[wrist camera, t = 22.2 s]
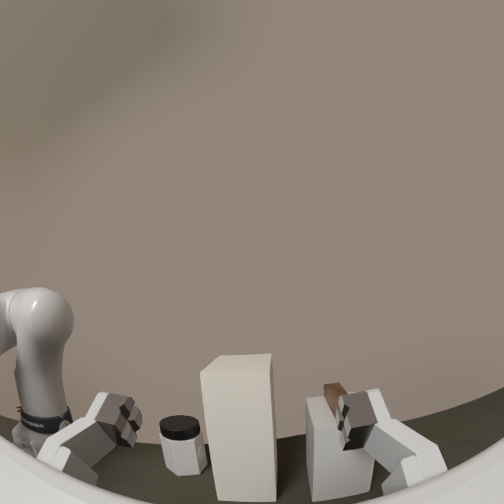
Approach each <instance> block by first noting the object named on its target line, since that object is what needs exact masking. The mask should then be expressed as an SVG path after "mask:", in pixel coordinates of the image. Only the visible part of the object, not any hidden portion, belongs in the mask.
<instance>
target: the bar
mask: <svg viewBox="0 0 504 504" xmlns="http://www.w3.org/2000/svg"><path fill="white" fill-rule="evenodd" d="M346 394H348V393H347V392H346V391H345V390H344V388H343V387H342V386H341V384H340V383H332V384H325V385H324V397H325V399H326V401H327V403H328V405H329V407H330V409H331V411H332V413H333V415H334V417H335V419H336V409H337V407H338V406H339V402H338V400H339V397H340V395H346ZM363 448H364V447H363ZM358 449H361V448H358ZM352 450H356V449H352Z"/></svg>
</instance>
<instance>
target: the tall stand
mask: <svg viewBox="0 0 504 504" xmlns="http://www.w3.org/2000/svg"><path fill="white" fill-rule="evenodd" d="M200 377H201V386H202V387H201V388H202V397H203V405H204V414H205V422H206V429H207V437H208V444H209V450H210V457H211V463H212V469H213V475H214V481H215V486H216V491H217V497H218V500H223V501H240V502H276V495H277V443H276V423H275V405H274V404H275V403H274V386H273V368H272V354H259V355H258V354H257V355H231V356H219V357H218V358H216V359H215V360H214V361H213V362H212V363H211V364H209V365H208V366H207V367H206V368H205V369H204V370H202V371H201V372H200Z"/></svg>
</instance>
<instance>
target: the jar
mask: <svg viewBox="0 0 504 504" xmlns="http://www.w3.org/2000/svg"><path fill="white" fill-rule="evenodd" d="M159 424H160V430H161V433H160V434H159V435H160V440H161V445H162V450H163V454H164V459H165V463H166V467H167V468H168V469H169V470H171V471H172V472H173V473H175V474H176V475H178V476H188V475H199V474H201V472H202V471H203V470H204V468H205V467H206V466H207V459H206V453H205V446H204V441H203V433H202V431H201V430H200V425H199V421H198V420H197V419H196V418H194V417H191V416H184V415H178V416H170V417H167V418H164V419H162V420H161V421H160V423H159Z"/></svg>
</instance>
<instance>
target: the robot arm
mask: <svg viewBox="0 0 504 504" xmlns="http://www.w3.org/2000/svg"><path fill="white" fill-rule="evenodd" d="M73 325H74V318H73V312H72V309H71V307H70V305H69V303H68V302H67V300H66V299H65V298H64V297H63V296H62V295H60V294H58V293H57V292H55V291H52V290H50V289H47V288H44V287H37V288H25V289H17V290H12V291H8V292H4V293H1V294H0V355H1V354H3V353H4V352H6V351H7V350H9V349H11V348H12V347H14V346H16V345H17V359H16V368H15V371H14V375H15V381H16V386H17V391H18V395H19V400H20V404H21V406H20V407H17V408H21V409H19V410H18V411H17V412H20V413H21V414H20V416H21V421H20V422H19V423H18V424H17V425H16V426H15V427H14V429H13V430H12V436H13V439H14V440H13V442H14V443H13V444H12V443H11V442H9V441H8V440H6V439H5V438H3V437H2V436H1V435H0V504H153V503H148V502H144V501H140V500H137V499H133V498H129V497H126V496H123V495H119V494H116V493H113V492H110V491H107V490H104V489H102V488H99V487H96V486H95V485H96V483H97V480H98V475H97V474H96V473H95V472H94V471H93V470H91V469H90V468H91V467H92V466H94V465H95V464H96V463H97V462H98V461H99V460H101V459H102V458H103V457H104V456H105V455H106V454H107V453H109V452H110V451H111V450H112V449H113V448H114V447H115V446H116V445H120V446H125V447H130V448H133V447H134V444H135V441H136V438H137V435H136V431H137V430H139V429H140V427H141V424H142V415H141V412H140V410H139V409H138V408H137V407H136V406H134V404H135V402H134V400H133V398H132V397H126V396H121V395H116V394H111V393H106V392H100V393H98V395H97V396H96V398H95V400H94V402H93V403H92V405H91V407H90V409H89V411H88V413H87V415H86V416H85V418H84V417H82V418H80V419H78V420H77V421H75V422H73V420H72V415H71V412H70V409H69V407H68V406H67V403H66V398H65V393H64V387H63V381H62V358H63V351H64V346H65V343H66V342H67V340H68V339H69V337H70V335H71V333H72V330H73ZM338 402H339V406H338V407H337V409H336V424H337V429H338V430H339V431H341V435H340V443H341V447H342V451H347V450H352V449H358V448H363V447H364V448H363V449H365V450H366V451H367V452H368V453H369V454H370V455H371V456H372V457H373V458H374V459H376V460H377V461H378V462H379V463H380V464H381V465H382V466H383V467H384V468H386V469H387V470H388V471H389V472H390V473H391V474H390V475H389V476H388V478H387V479H386V480H385V481H384V482H383V484H382V485H381V486H382V490H383V494H384V496H381V497H378V498H374V499H371V500H367V501H363V502H359V503H355V504H504V438H502V439H501V440H499V441H498V442H496V443H495V444H493V445H492V446H490V447H489V448H487V449H486V450H484V451H482V452H481V453H479V454H477V455H476V456H474V457H472V458H471V459H469V460H467V461H465V462H463V463H462V464H460V465H458V466H456V467H454V468H452V469H450V470H447V467H446V465H445V462H444V460H443V458H442V455H441V453H440V451H439V448H438V446H437V445H436V444H434V443H433V442H431V441H429V440H428V439H426V438H425V437H423V436H421V435H420V434H418V433H417V432H415V431H413V430H412V429H410V428H409V427H407V426H405V425H404V424H402V423H401V422H399V421H398V420H396V419H391V417H390V414H389V412H388V409H387V407H386V404H385V402H384V400H383V397H382V395H381V393H380V390H379V389H373V390H368V391H361V392H356V393H351V394H346V395H340V397H339V400H338Z"/></svg>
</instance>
